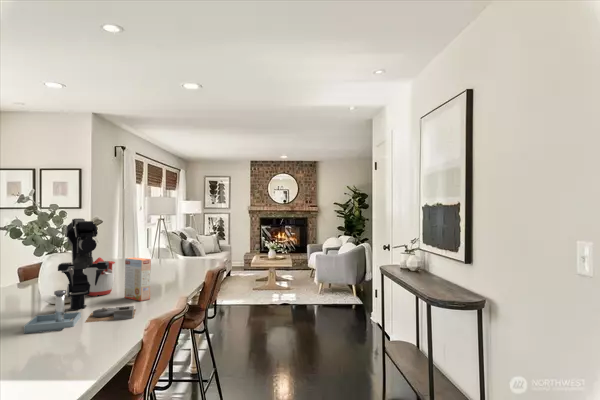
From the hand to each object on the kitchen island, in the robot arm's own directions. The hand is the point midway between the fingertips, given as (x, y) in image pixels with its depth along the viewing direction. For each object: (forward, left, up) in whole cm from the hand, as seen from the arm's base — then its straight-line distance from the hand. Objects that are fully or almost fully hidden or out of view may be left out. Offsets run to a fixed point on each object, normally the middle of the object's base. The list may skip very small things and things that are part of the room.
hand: (83, 285), depth 163 cm
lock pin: (+13, -6, -12) cm, 19 cm away
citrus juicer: (-45, 0, -13) cm, 47 cm away
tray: (+12, -8, -13) cm, 19 cm away
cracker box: (-27, +20, -13) cm, 36 cm away
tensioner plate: (+7, +12, -13) cm, 19 cm away
